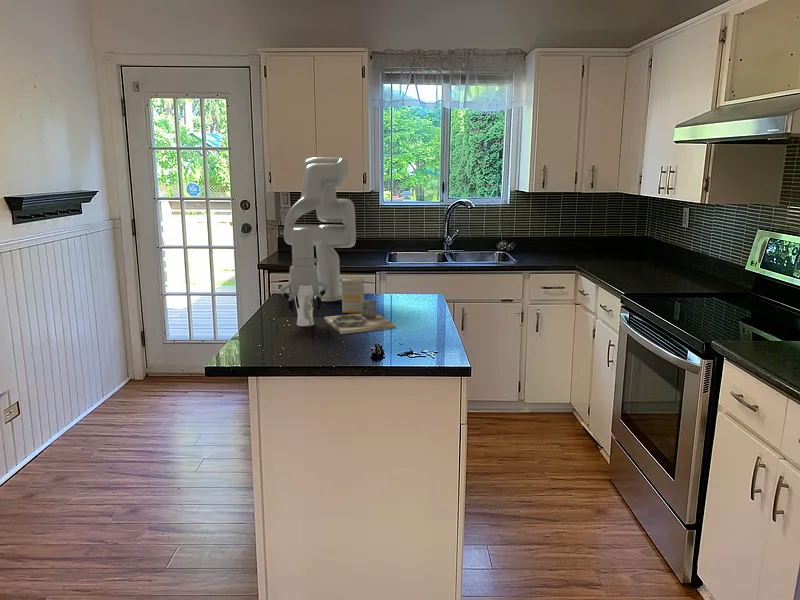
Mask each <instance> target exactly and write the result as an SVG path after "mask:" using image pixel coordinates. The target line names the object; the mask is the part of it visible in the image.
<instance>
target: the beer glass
mask: <svg viewBox="0 0 800 600" xmlns="http://www.w3.org/2000/svg"><path fill="white" fill-rule="evenodd" d="M314 296H315V294H314V293H313V288H312V284H311V285H300V287H299V292H298V295H295V296H294V302H295V307H296V312H297V319H296V325H297V326H298V327H306V328H307V327H312V326H314V325H315V321H314V316H313V315H314V313H313V311H314V306H315V305H314V304H315V299H314Z"/></svg>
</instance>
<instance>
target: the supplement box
mask: <svg viewBox="0 0 800 600" xmlns="http://www.w3.org/2000/svg"><path fill="white" fill-rule="evenodd" d="M364 283H365V281H364V277H363V278H361V277H360V278H359V277H356V278H355V277H353V278H351V277H346V278H345V277H343V278H342V279H340V286H341V294H342V300H341V311H342V312H341V313H342V314H344V313H345V314H346V313H347V314H359V313H362V301H365V286H364V285H365V284H364Z"/></svg>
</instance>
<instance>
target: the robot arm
mask: <svg viewBox="0 0 800 600" xmlns="http://www.w3.org/2000/svg"><path fill="white" fill-rule="evenodd" d="M303 166H304V171H303V178H302V187H301V195H300V198H299V199H298V200H297V201H296V202H295V203H294V204H292V206H291V207H290V209H289V210H288V211H287V213H286V216H285V220H284V227H283V239H284V242H285V244H287V245H290V246H291V255H292V256H291V258H292V260H291V261H292V265H291V266H289V272H288V273H289V275H288V283H287V284H285V285H283V286H282V287H279V291H280V294H281V295H282V296H283V297H284V298H285V299H287V309H288V310H289V311H290V313H293V312H294V311H295V309H294V308H295V307H294V301H293V299H294V298H295V295H298V292H299V287H300V285H311V284H312V288H313V293H314V301H315V308H316V309H317V310H321V307H322V302H338V301H342V293H341V274H340V269H341V268H340V256H339V254H338V252H337V251H336V250H335V249H336V248H338V249H341V248H342V249H343V248H345V249H346V248H352V247H354V246H355V245H356V240H357V232H356V231H357V230H356V229H357V228H356V211H355V210H356V209H355V208H356V207H355V205H354V202H353V201H352V200H351V199H349V198H338V197H337V190H336V189H337V187H339V186H342V184H343V183H344V182H345V180H346V179H347V178H348V175H349V167H350V166H349V163H348V160H347V159H346V158H344V157H326V156H325V157H324V156H323V157H319V156H317V157H316V156H315V157H310V158H307V159H305V160H304V165H303ZM312 211H315V212H316V217H317V220H318V221H320V222H325V223H328V222H329V223H342V224H320V225H318V224H300V223H299V224H296V222H297V220H298V219H299V218H300V217H302V216H303V215H305V214H308V213H310V212H312ZM314 247H315V248H314ZM314 249H315V251H314ZM315 252H316V258H315ZM315 263H316V265H315ZM286 290H288V291H289V294H287V293H286Z"/></svg>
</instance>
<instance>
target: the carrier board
mask: <svg viewBox="0 0 800 600" xmlns="http://www.w3.org/2000/svg"><path fill="white" fill-rule="evenodd" d="M376 302H377V301H376V300H373V299H367V300H365V299H364V301H362V313H348V314H341V315H330V316H324V321H325V322H326V323H327V324H328V325H330V326H331V328H332V327H333V329H334V330H336V331H337V332H339V334H341V335H345V334H346V335H347V334H355V333H364V332H371V331H373V332H374V331H382V330H389V329H396V323H394V322H392V321H390V320H389V319H387V318H385V317H384V316H382V315H380V314H379V313H378V312H377V303H376Z"/></svg>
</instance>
